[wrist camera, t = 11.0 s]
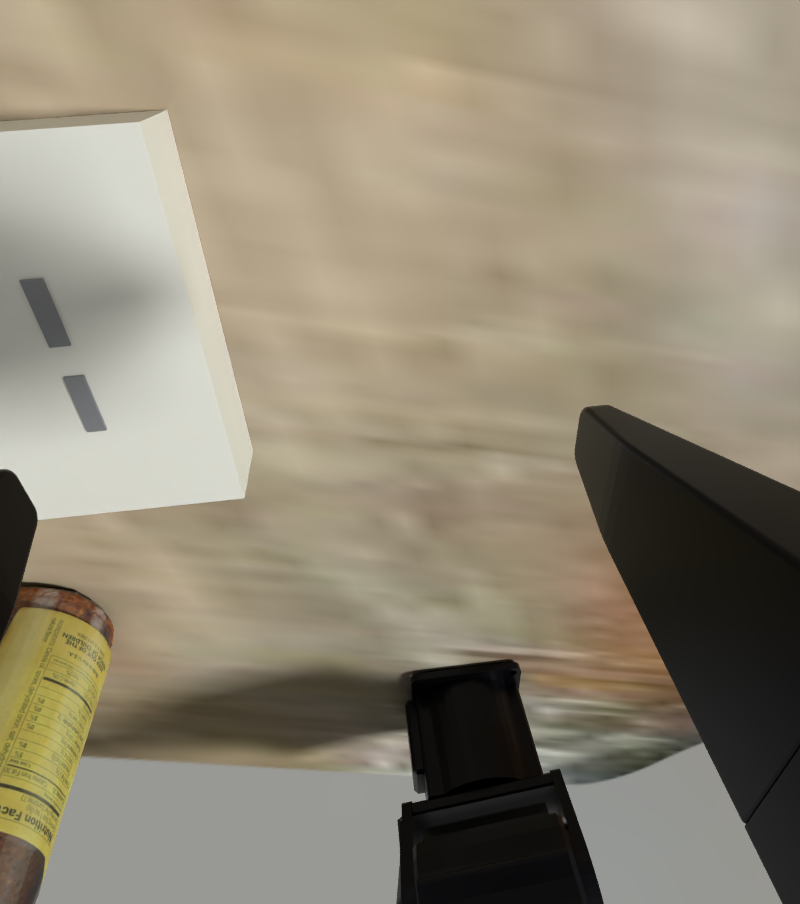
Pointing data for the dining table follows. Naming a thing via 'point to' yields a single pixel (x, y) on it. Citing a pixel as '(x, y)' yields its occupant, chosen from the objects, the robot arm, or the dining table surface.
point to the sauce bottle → (44, 724)
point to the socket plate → (110, 323)
